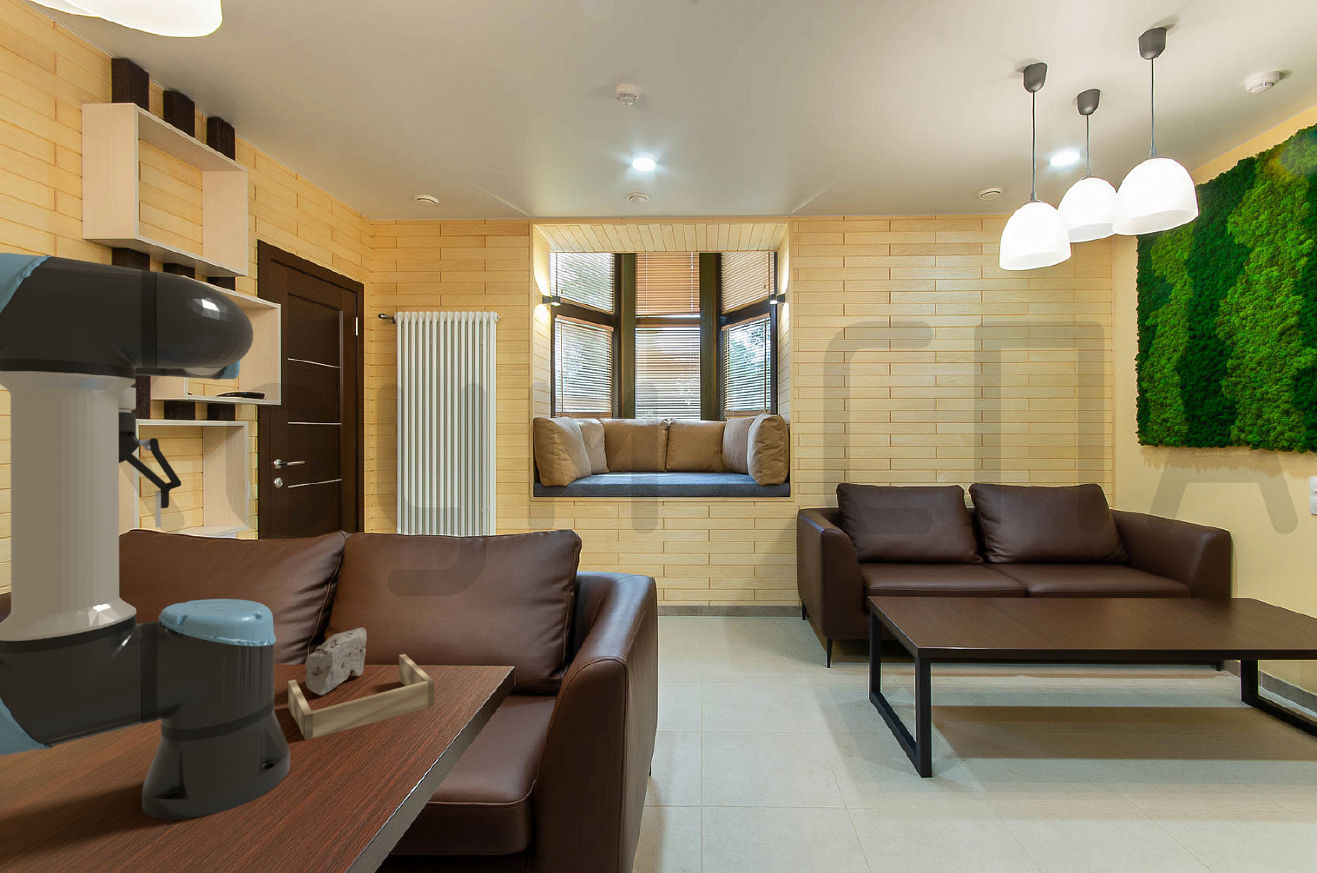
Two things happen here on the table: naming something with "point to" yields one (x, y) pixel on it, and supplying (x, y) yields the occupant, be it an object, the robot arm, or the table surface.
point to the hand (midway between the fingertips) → (108, 530)
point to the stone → (336, 660)
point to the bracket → (364, 704)
